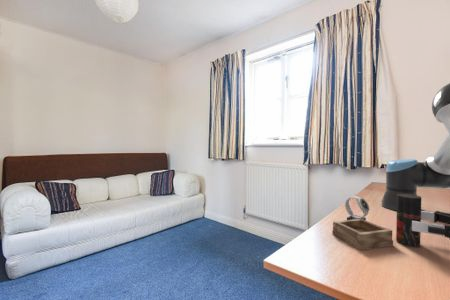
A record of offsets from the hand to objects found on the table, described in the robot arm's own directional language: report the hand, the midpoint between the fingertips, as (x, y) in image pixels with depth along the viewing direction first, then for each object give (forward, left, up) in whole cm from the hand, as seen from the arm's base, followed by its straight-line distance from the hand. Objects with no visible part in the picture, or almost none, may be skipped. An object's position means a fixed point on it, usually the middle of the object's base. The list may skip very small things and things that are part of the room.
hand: (409, 219), depth 71 cm
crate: (+12, -6, -8) cm, 16 cm away
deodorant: (0, 0, -8) cm, 8 cm away
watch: (+3, -17, -8) cm, 19 cm away
